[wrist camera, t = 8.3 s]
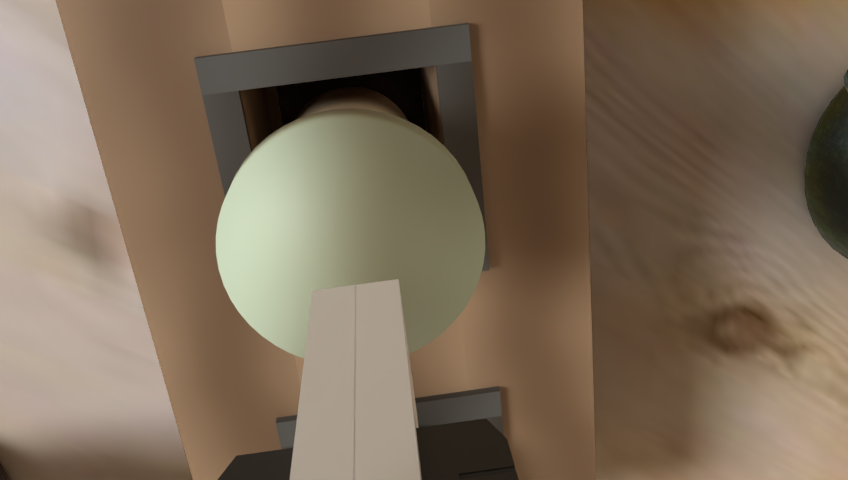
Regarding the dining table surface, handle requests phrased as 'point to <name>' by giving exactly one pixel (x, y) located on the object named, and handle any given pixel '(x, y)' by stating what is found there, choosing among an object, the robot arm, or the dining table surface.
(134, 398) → the dining table surface
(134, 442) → the dining table surface
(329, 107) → the peg
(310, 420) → the robot arm
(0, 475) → the mortar and pestle
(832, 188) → the mug
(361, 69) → the socket block
